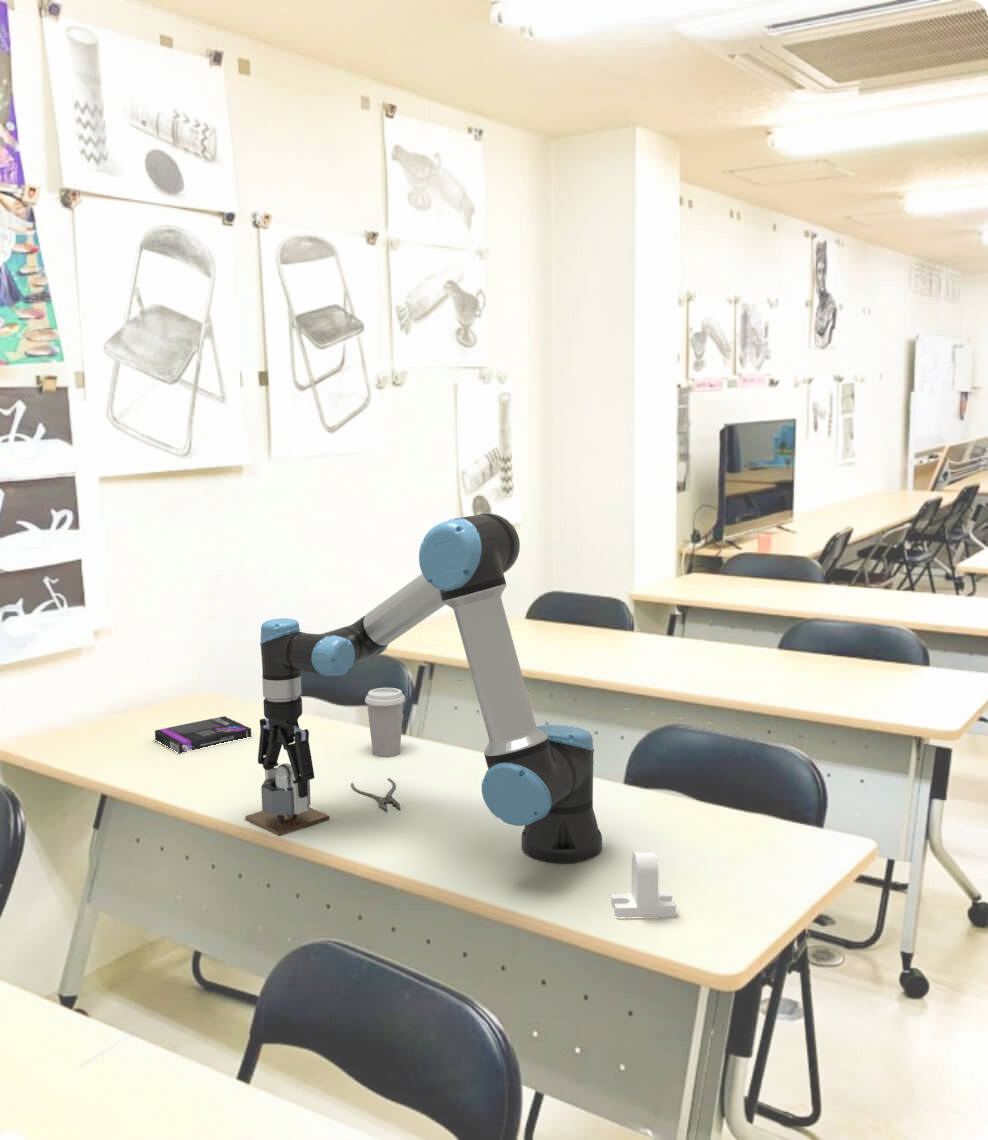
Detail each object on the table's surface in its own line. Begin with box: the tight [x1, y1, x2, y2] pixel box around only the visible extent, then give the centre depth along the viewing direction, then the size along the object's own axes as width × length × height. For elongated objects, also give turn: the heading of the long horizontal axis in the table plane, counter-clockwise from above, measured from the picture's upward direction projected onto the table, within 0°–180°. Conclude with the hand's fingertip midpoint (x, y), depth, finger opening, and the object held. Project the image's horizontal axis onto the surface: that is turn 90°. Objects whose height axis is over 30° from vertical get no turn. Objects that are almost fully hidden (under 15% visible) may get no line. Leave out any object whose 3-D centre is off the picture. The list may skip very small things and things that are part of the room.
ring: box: [260, 777, 311, 815], centre depth 223 cm, size 9×9×5 cm
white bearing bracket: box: [610, 851, 677, 918], centre depth 182 cm, size 5×10×10 cm, turn 93°
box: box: [154, 715, 252, 754], centre depth 277 cm, size 14×4×20 cm
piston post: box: [244, 763, 331, 837], centre depth 223 cm, size 12×12×12 cm
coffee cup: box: [364, 687, 406, 758], centre depth 264 cm, size 10×10×15 cm
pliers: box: [350, 777, 401, 813], centre depth 238 cm, size 10×1×20 cm
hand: (287, 805), depth 223 cm, fingers closed on ring, 9 cm apart
